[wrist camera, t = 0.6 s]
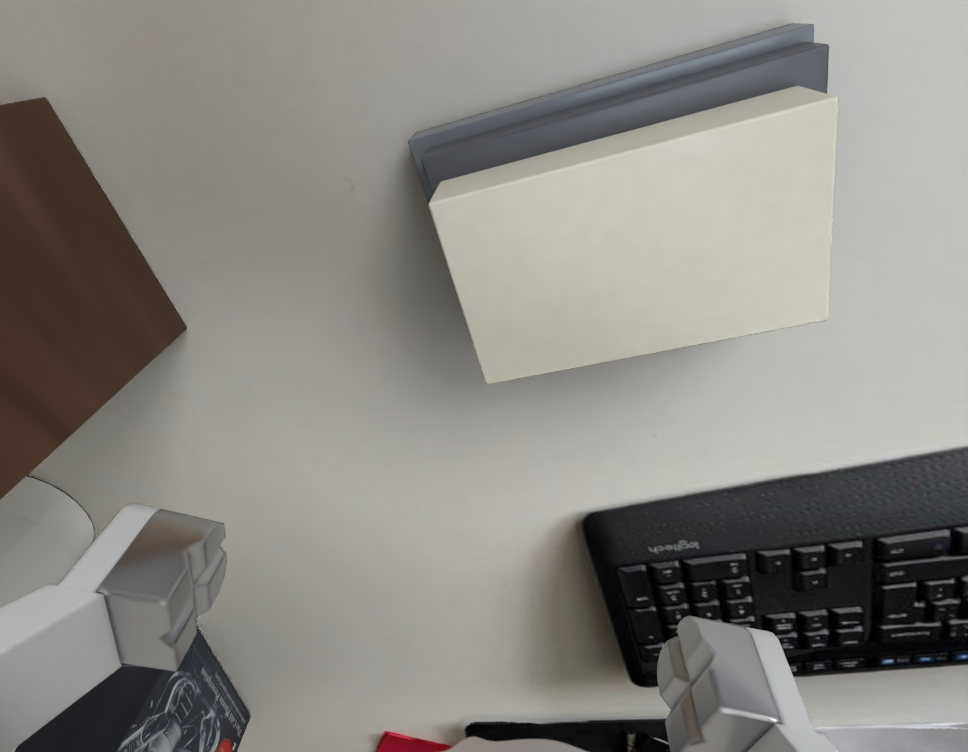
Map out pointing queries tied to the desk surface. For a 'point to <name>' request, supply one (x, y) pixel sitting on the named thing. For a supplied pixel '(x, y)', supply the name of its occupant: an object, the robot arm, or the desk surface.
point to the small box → (151, 711)
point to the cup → (39, 537)
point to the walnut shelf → (64, 292)
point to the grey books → (623, 103)
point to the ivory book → (646, 237)
